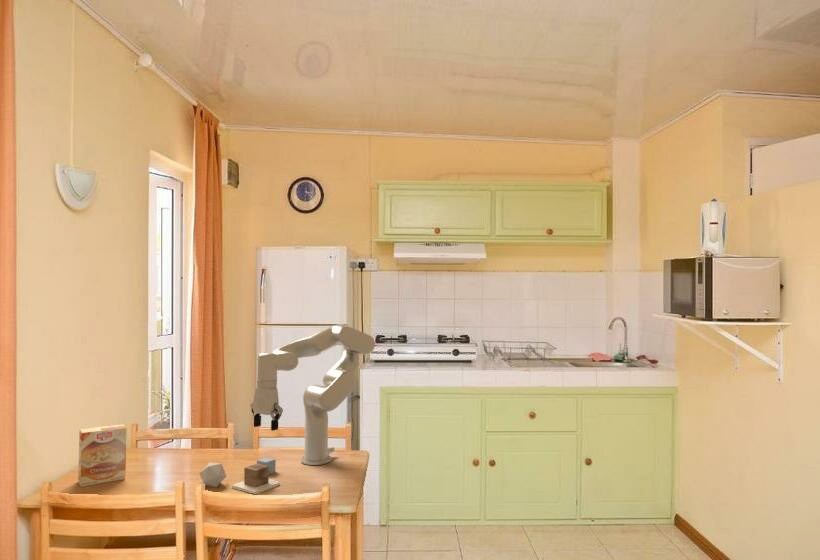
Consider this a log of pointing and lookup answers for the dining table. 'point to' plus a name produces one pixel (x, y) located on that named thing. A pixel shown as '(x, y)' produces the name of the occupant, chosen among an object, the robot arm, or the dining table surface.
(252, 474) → the walnut block
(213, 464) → the die
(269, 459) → the blue block
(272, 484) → the plate
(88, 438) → the coffeecake box
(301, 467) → the dining table surface
